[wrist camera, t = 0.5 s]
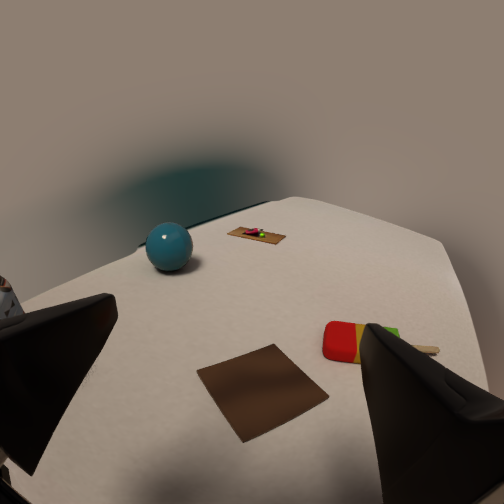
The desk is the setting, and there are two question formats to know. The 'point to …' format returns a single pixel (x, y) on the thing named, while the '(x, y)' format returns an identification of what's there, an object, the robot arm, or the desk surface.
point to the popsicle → (352, 341)
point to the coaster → (260, 391)
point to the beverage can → (8, 301)
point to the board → (257, 235)
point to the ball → (169, 246)
